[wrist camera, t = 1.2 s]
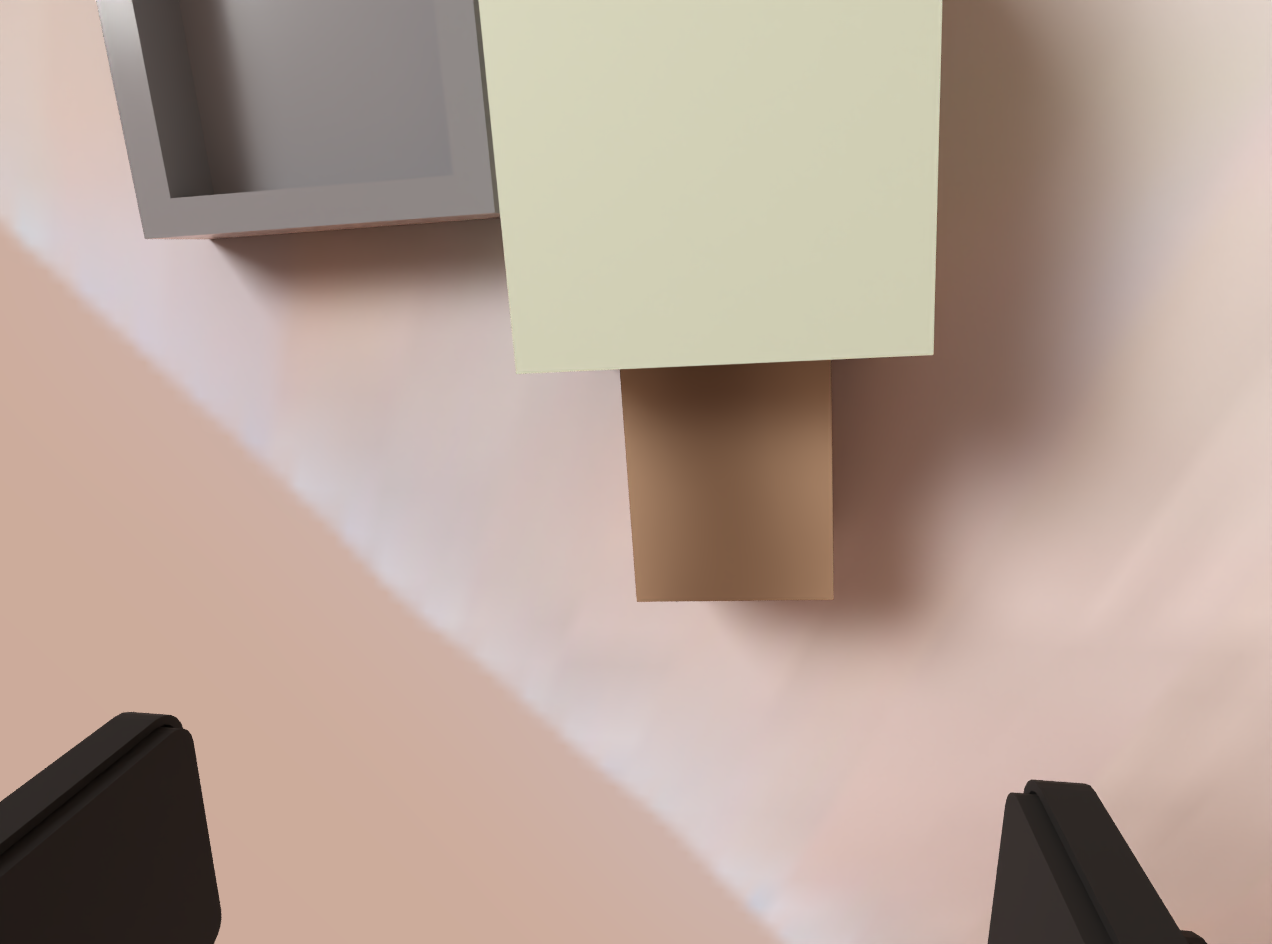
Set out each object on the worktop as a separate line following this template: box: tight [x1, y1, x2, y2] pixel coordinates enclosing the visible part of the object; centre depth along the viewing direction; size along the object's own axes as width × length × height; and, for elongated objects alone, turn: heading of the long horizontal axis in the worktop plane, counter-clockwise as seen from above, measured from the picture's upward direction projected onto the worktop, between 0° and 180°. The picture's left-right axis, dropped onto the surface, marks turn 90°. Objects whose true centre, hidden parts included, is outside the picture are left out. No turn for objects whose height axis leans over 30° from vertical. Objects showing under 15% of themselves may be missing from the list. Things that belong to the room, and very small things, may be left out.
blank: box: [620, 360, 834, 602], centre depth 23 cm, size 5×10×5 cm, turn 4°
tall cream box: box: [478, 0, 942, 374], centre depth 19 cm, size 8×12×8 cm
